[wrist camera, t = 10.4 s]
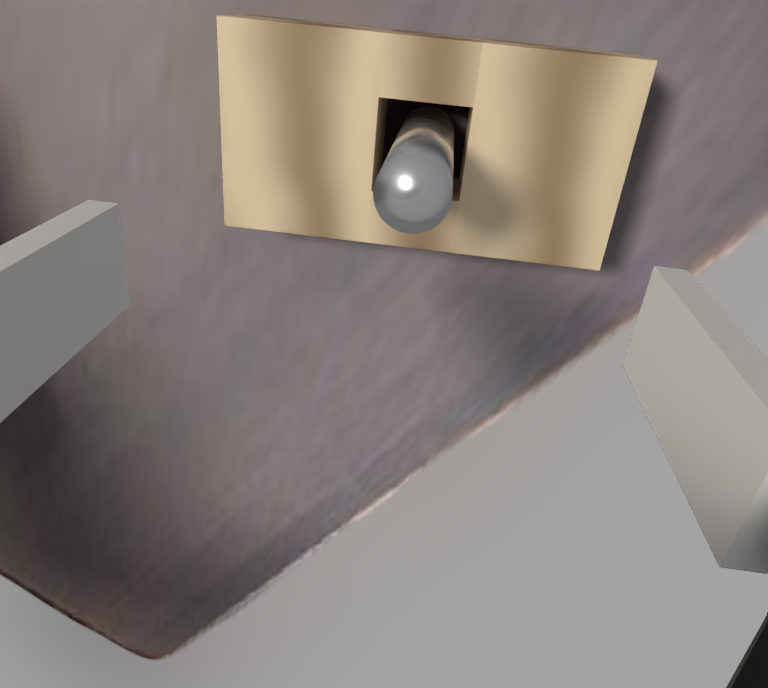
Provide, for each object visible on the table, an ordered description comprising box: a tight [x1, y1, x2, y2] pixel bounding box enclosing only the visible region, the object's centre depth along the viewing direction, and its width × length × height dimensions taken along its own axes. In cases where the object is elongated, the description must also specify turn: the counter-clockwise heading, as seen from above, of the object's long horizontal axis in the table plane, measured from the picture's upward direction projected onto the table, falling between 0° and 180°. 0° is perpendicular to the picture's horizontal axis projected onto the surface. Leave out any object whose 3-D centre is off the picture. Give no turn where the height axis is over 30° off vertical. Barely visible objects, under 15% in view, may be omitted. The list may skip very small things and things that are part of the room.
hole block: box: [217, 15, 657, 271], centre depth 32 cm, size 20×10×5 cm, turn 85°
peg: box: [373, 106, 455, 234], centre depth 29 cm, size 3×3×13 cm
